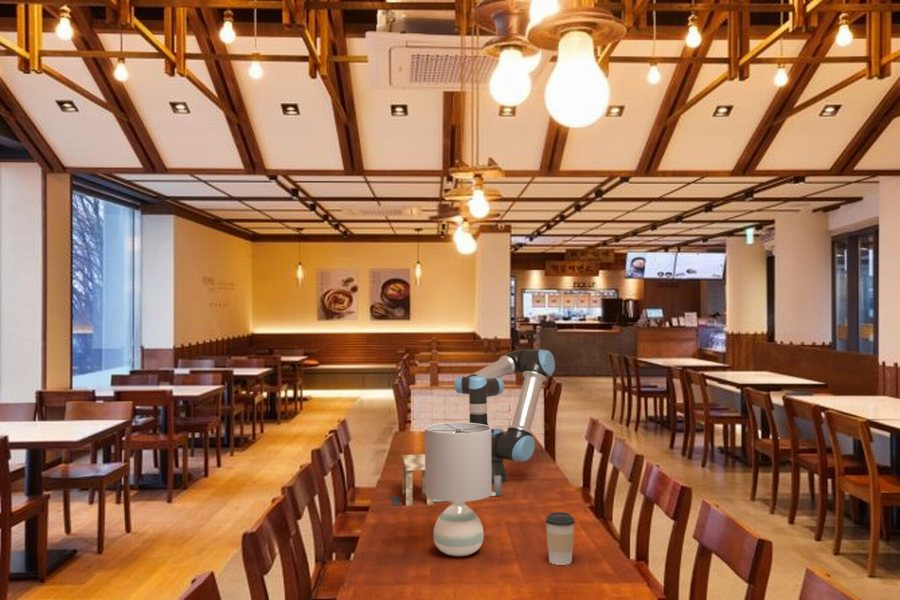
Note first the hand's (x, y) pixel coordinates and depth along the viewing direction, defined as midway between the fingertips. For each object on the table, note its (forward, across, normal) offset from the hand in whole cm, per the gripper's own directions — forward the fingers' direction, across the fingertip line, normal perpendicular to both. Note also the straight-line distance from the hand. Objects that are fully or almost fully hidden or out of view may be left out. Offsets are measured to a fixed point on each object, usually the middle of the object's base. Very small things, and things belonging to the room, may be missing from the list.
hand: (479, 468), depth 309 cm
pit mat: (+11, +36, +3) cm, 37 cm away
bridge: (+11, +27, +1) cm, 29 cm away
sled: (+11, +7, +1) cm, 13 cm away
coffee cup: (+10, -10, +84) cm, 85 cm away
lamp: (+10, +20, +70) cm, 73 cm away
